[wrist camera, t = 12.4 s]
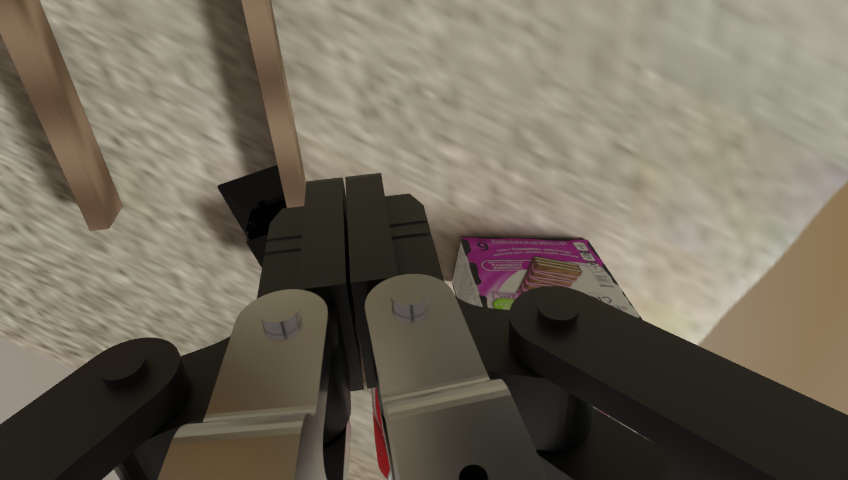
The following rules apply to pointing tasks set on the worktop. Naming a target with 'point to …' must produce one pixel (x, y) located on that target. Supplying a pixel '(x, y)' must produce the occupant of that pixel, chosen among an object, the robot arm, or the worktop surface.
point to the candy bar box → (531, 271)
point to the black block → (255, 205)
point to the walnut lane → (70, 130)
